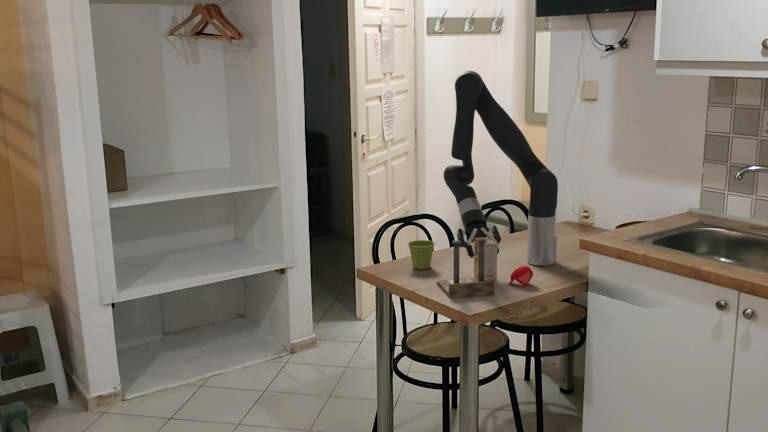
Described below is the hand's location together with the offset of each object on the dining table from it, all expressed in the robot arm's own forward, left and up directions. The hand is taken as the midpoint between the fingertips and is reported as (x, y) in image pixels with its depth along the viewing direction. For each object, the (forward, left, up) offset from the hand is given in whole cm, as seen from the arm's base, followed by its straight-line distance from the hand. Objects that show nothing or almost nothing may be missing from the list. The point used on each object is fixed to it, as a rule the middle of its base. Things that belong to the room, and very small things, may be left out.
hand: (484, 255), depth 247 cm
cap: (-9, +9, -8) cm, 15 cm away
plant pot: (+17, -18, -8) cm, 26 cm away
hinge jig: (+10, +10, -8) cm, 16 cm away
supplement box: (0, 0, -8) cm, 8 cm away
